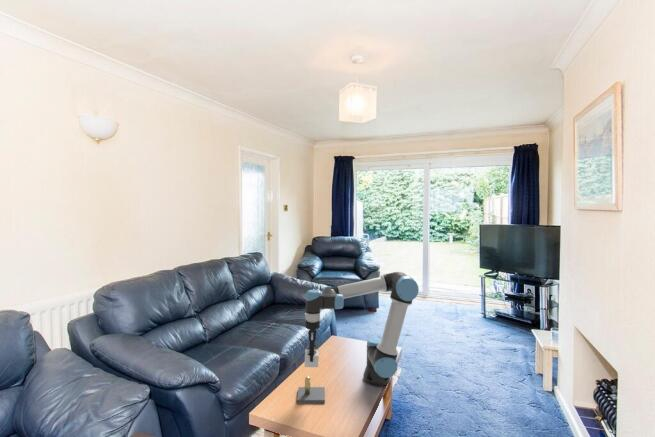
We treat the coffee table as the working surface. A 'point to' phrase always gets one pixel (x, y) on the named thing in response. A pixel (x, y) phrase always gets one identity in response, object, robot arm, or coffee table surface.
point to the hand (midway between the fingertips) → (311, 363)
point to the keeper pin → (307, 385)
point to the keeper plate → (311, 395)
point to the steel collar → (316, 356)
